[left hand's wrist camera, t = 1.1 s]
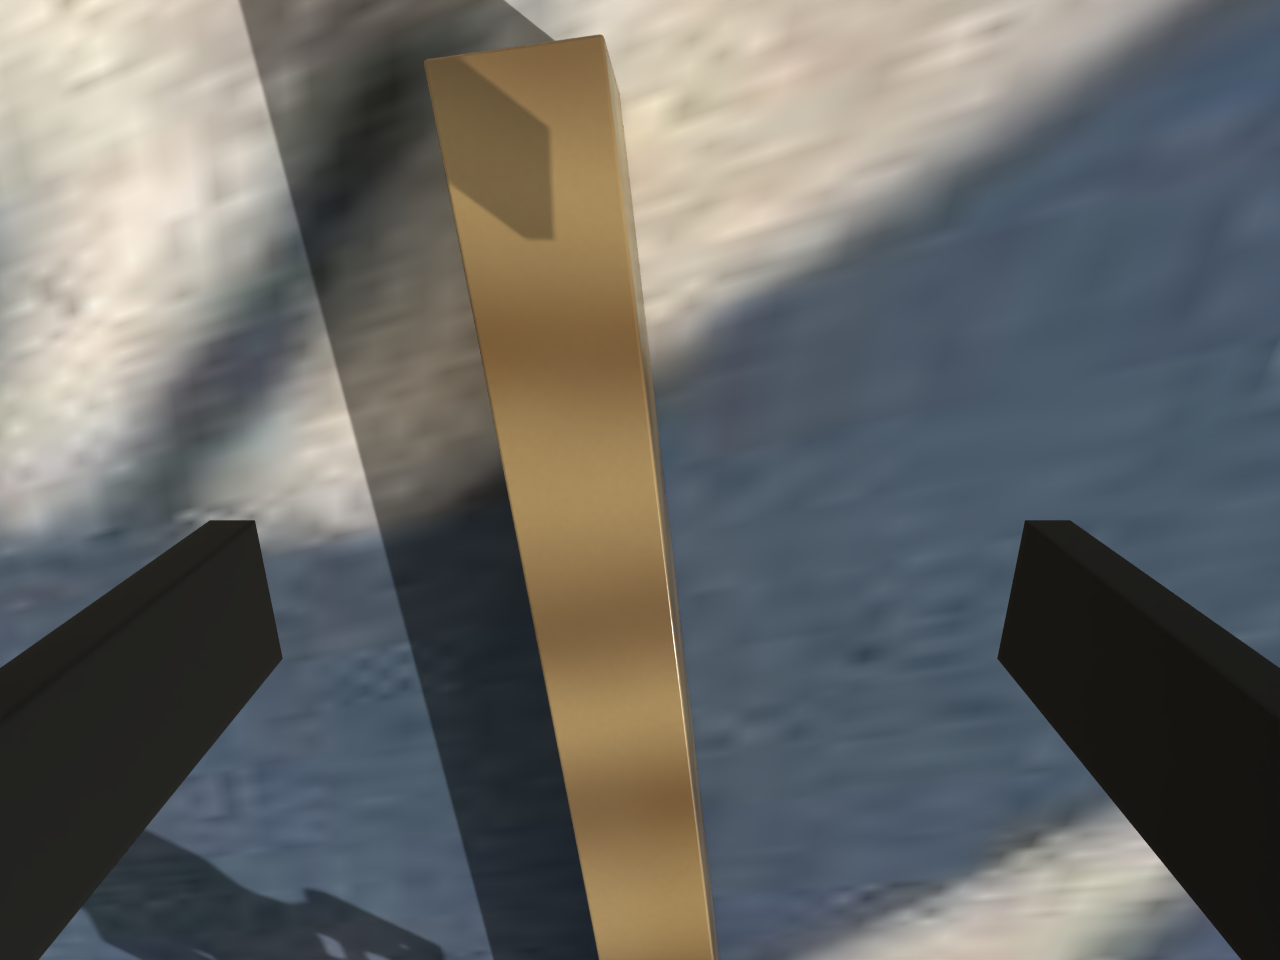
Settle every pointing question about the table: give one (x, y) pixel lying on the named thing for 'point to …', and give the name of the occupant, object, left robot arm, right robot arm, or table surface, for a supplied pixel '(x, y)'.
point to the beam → (583, 468)
